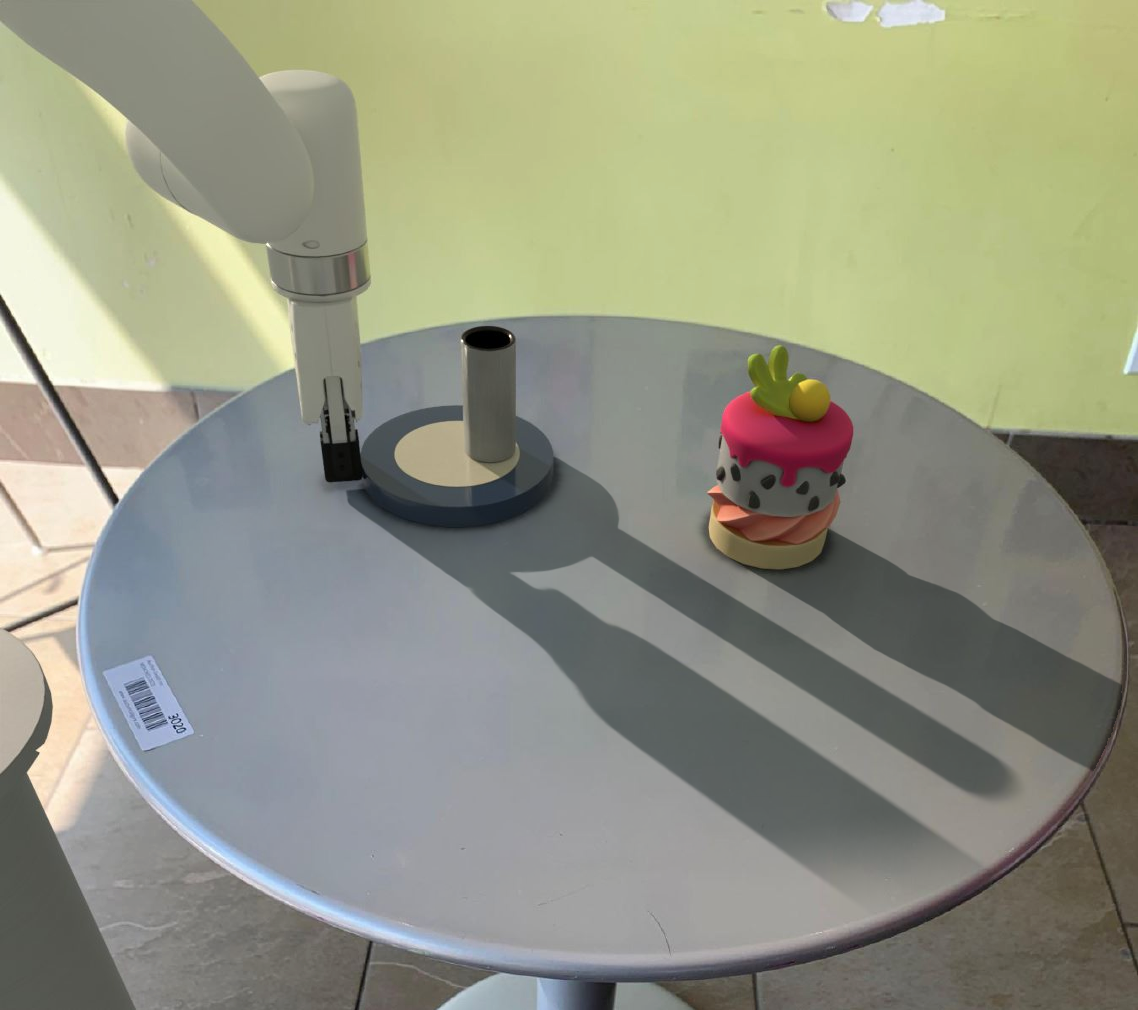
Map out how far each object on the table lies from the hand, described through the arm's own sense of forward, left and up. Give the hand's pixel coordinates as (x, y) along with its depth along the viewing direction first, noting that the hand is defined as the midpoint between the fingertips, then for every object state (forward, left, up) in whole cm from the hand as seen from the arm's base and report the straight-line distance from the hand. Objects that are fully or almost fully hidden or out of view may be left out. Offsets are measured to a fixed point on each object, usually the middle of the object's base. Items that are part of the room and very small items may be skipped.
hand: (343, 476), depth 97 cm
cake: (+35, -13, -1) cm, 37 cm away
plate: (+10, 0, -1) cm, 10 cm away
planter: (+13, 0, +1) cm, 13 cm away
